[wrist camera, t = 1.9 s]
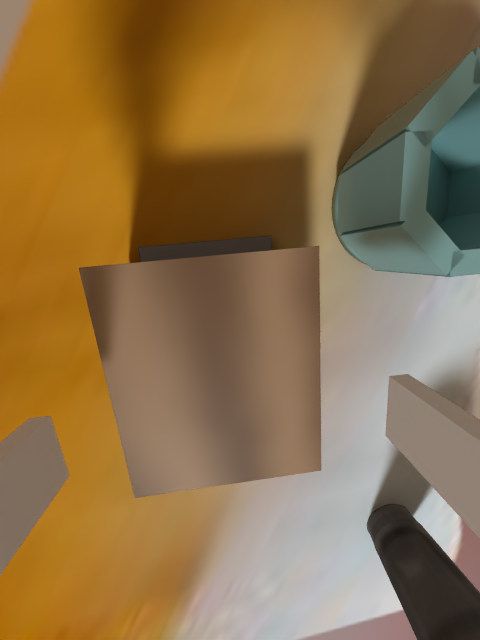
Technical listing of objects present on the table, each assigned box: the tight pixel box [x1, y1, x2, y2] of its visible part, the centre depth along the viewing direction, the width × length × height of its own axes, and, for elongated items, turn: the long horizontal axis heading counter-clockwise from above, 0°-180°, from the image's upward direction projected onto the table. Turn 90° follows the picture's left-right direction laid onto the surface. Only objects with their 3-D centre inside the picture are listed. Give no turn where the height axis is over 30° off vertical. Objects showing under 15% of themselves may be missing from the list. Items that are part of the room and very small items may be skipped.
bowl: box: [332, 47, 480, 277], centre depth 15 cm, size 9×9×7 cm
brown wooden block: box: [79, 246, 321, 498], centre depth 16 cm, size 11×13×6 cm
